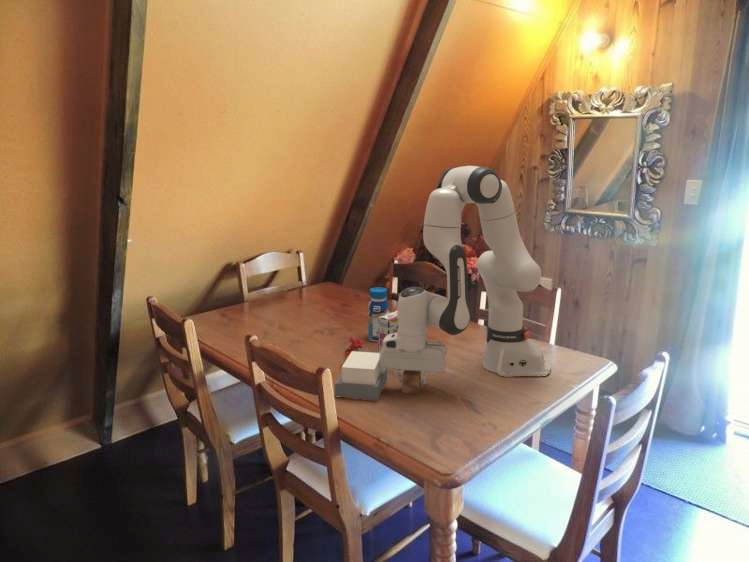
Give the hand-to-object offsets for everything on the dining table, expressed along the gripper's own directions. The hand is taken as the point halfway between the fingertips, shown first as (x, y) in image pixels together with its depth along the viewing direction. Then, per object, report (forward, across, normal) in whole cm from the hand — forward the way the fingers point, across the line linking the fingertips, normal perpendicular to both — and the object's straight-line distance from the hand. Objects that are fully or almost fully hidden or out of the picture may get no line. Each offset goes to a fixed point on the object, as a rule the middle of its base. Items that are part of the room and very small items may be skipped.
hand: (411, 382), depth 172 cm
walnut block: (+2, 0, 0) cm, 2 cm away
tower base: (+3, +15, +2) cm, 16 cm away
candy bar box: (+3, +10, -24) cm, 26 cm away
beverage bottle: (+2, +19, -43) cm, 47 cm away
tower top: (-2, +15, +2) cm, 15 cm away
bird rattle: (+2, +22, -14) cm, 26 cm away
